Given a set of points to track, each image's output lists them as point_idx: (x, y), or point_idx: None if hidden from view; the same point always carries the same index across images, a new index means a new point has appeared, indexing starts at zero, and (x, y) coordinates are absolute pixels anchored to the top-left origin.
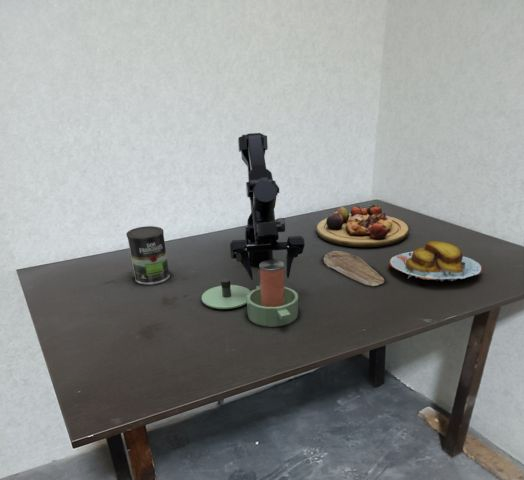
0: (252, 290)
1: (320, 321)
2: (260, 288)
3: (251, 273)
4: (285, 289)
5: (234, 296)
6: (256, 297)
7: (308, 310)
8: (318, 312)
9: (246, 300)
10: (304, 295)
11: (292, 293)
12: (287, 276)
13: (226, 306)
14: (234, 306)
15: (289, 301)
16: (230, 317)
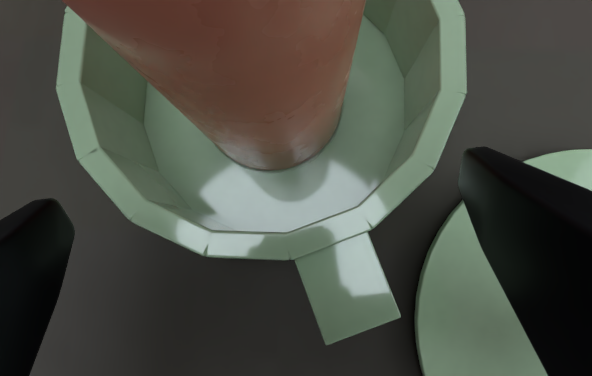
0: (430, 167)
1: (24, 23)
2: (361, 207)
3: (511, 171)
4: (148, 198)
5: None
6: (385, 177)
7: (68, 146)
8: (17, 121)
9: (451, 244)
10: (65, 352)
11: (99, 128)
12: (56, 206)
13: (579, 162)
14: (523, 161)
15: (156, 177)
16: (523, 78)
